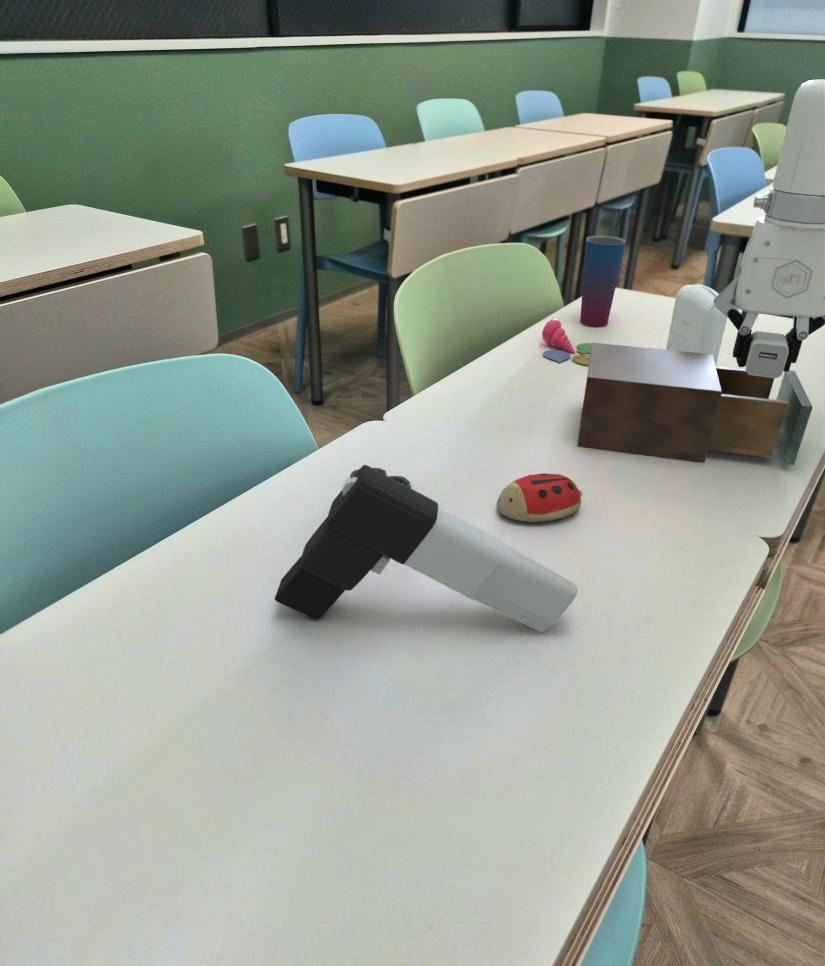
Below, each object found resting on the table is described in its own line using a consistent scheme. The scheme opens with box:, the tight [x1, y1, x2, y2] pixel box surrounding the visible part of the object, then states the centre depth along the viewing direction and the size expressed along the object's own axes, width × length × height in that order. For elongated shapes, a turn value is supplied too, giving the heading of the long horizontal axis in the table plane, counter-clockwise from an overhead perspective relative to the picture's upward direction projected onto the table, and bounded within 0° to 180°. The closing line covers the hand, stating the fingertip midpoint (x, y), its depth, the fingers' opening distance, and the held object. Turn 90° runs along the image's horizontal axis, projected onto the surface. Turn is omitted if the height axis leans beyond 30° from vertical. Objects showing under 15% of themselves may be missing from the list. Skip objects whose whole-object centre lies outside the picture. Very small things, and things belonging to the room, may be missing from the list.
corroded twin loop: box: [349, 467, 412, 489], centre depth 84 cm, size 5×8×1 cm, turn 54°
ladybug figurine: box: [496, 473, 583, 523], centre depth 80 cm, size 7×10×4 cm
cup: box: [579, 235, 627, 328], centre depth 132 cm, size 7×7×15 cm
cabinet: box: [576, 342, 722, 463], centre depth 95 cm, size 16×13×10 cm
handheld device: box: [274, 464, 578, 633], centre depth 64 cm, size 4×22×15 cm, turn 86°
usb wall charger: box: [745, 330, 789, 379], centre depth 88 cm, size 4×7×4 cm, turn 159°
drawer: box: [707, 365, 813, 466], centre depth 93 cm, size 16×11×8 cm
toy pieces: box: [541, 318, 593, 367], centre depth 122 cm, size 12×11×4 cm
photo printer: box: [665, 283, 728, 366], centre depth 116 cm, size 10×4×12 cm, turn 13°
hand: (762, 363), depth 89 cm, fingers closed on usb wall charger, 4 cm apart
